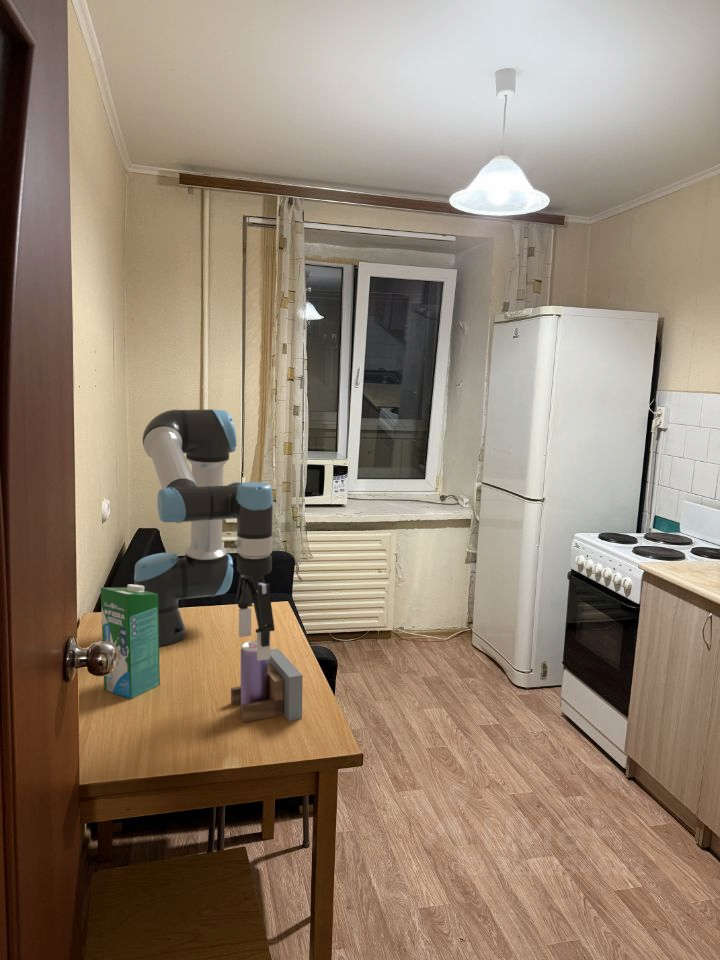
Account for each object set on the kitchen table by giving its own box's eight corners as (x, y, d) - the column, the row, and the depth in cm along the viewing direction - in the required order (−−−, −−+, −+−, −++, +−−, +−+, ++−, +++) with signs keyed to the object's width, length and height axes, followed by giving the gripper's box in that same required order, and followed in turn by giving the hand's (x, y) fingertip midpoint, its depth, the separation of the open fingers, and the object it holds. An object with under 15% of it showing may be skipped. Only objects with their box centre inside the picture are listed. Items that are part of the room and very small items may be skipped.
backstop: (265, 690, 163) (265, 650, 161) (277, 688, 164) (278, 648, 163) (289, 721, 149) (289, 677, 147) (302, 718, 150) (302, 675, 149)
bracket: (230, 702, 156) (230, 669, 155) (268, 695, 160) (268, 662, 159) (243, 722, 147) (243, 687, 146) (283, 714, 151) (283, 680, 150)
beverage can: (262, 717, 150) (262, 652, 148) (236, 713, 151) (236, 649, 149) (271, 704, 156) (271, 641, 154) (246, 701, 157) (246, 639, 155)
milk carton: (160, 684, 164) (158, 584, 161) (130, 699, 157) (127, 594, 153) (134, 676, 169) (131, 577, 165) (103, 689, 161) (100, 587, 158)
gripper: (222, 541, 158) (222, 629, 161) (255, 572, 135) (254, 673, 139) (253, 538, 161) (253, 624, 164) (290, 568, 139) (289, 667, 142)
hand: (253, 647), depth 152 cm, fingers open, 13 cm apart
